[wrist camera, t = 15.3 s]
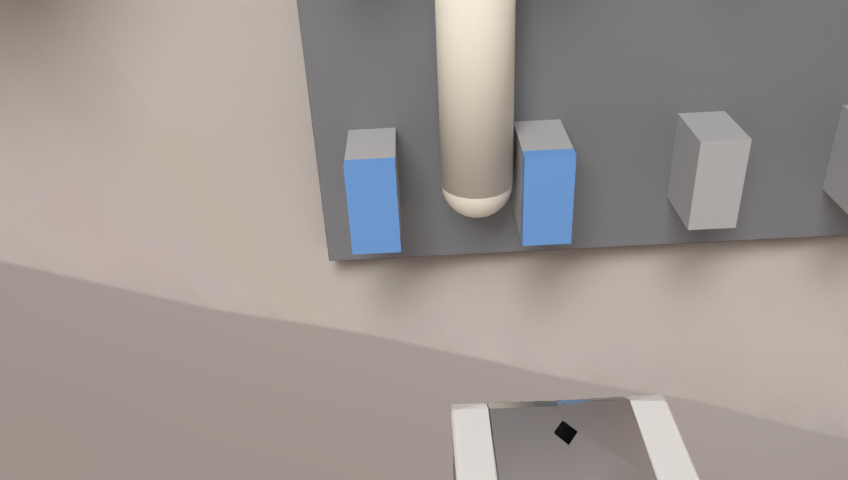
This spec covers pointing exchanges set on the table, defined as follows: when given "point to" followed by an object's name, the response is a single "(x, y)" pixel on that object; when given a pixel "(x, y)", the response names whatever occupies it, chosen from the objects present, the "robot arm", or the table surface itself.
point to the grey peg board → (589, 125)
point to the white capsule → (476, 102)
